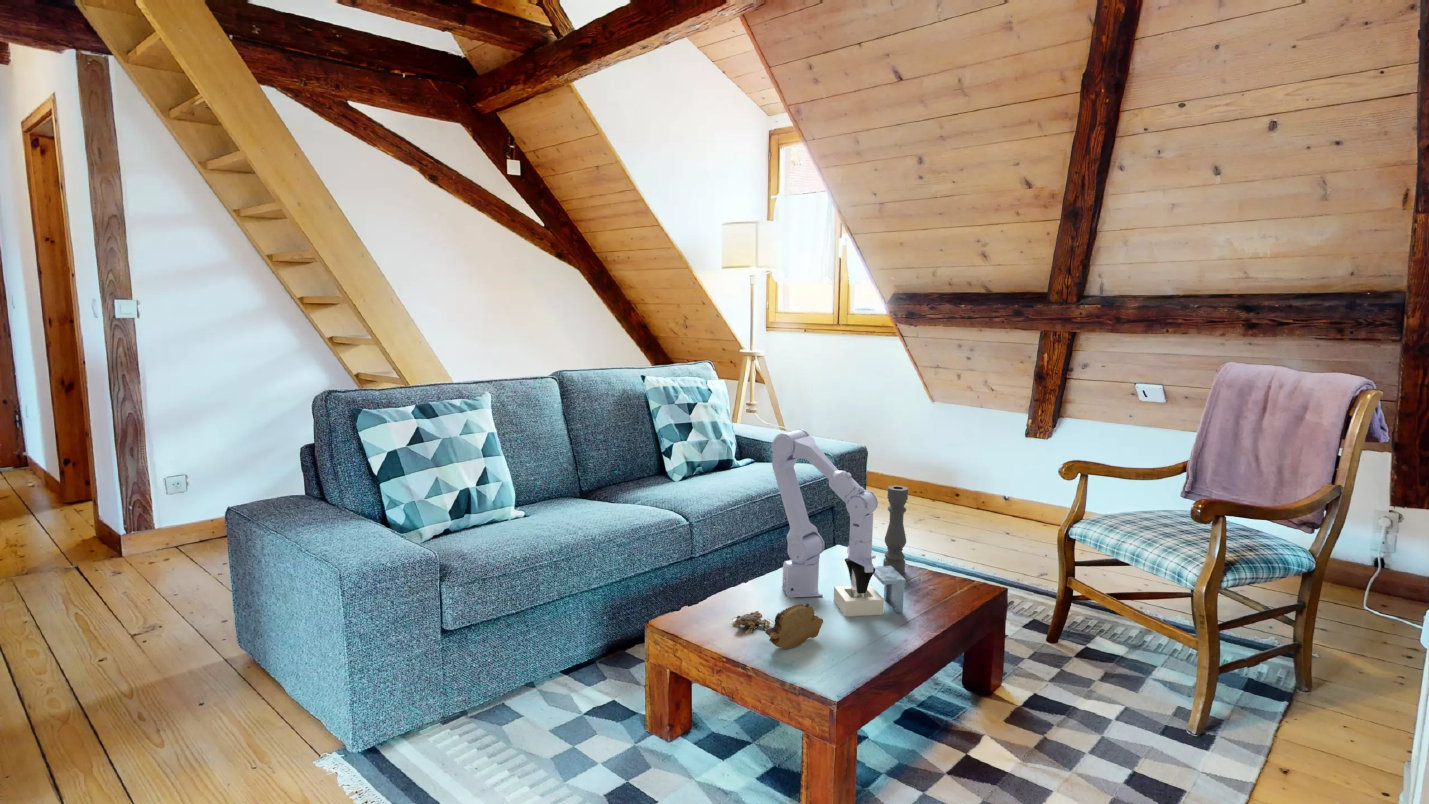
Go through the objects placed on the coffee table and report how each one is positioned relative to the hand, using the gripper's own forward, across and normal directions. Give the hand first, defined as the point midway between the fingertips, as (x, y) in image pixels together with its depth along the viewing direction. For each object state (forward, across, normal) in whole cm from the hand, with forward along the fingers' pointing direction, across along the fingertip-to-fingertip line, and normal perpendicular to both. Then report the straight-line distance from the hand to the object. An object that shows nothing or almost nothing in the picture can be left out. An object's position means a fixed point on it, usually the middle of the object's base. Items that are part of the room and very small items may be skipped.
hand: (858, 589), depth 208 cm
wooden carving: (+5, -19, +22) cm, 30 cm away
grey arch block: (+5, 0, -8) cm, 9 cm away
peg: (+2, 0, 0) cm, 3 cm away
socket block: (+5, 0, 0) cm, 5 cm away
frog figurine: (+6, -7, +29) cm, 31 cm away
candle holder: (+5, +24, -19) cm, 31 cm away
